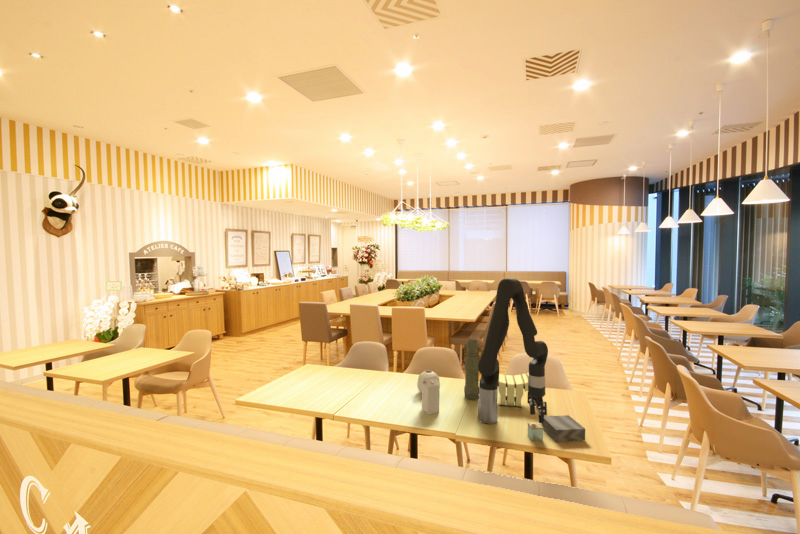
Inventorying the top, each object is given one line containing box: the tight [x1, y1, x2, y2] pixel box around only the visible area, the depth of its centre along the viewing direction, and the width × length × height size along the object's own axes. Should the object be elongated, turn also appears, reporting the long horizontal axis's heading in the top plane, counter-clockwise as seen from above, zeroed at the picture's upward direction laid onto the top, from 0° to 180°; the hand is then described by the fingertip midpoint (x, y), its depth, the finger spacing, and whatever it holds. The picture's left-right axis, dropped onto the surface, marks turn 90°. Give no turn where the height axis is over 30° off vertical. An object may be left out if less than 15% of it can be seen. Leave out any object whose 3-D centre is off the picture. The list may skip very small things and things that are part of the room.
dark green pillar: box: [461, 338, 483, 401], centre depth 218 cm, size 9×12×35 cm
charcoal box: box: [541, 414, 586, 443], centre depth 174 cm, size 14×14×6 cm
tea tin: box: [527, 421, 544, 442], centre depth 170 cm, size 5×5×6 cm
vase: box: [416, 369, 441, 394], centre depth 224 cm, size 14×14×13 cm
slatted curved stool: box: [497, 371, 529, 408], centre depth 211 cm, size 30×16×18 cm, turn 78°
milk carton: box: [421, 376, 440, 415], centre depth 199 cm, size 7×7×19 cm
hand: (536, 418), depth 170 cm, fingers open, 8 cm apart
